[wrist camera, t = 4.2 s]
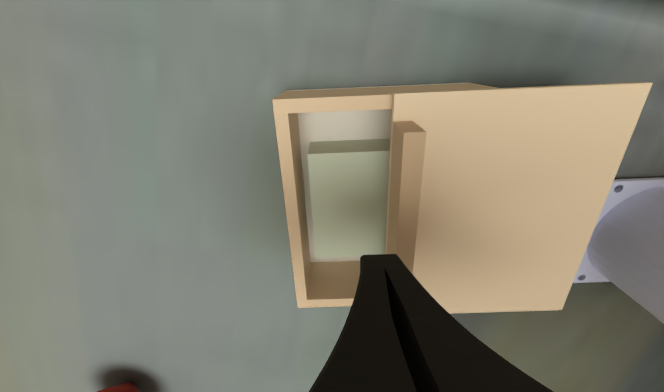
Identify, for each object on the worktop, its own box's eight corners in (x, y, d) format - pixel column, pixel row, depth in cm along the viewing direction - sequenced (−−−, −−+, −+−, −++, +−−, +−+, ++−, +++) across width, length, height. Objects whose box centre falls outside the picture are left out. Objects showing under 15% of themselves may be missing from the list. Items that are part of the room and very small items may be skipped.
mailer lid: (643, 82, 12) (712, 87, 10) (556, 304, 17) (589, 340, 15) (392, 92, 12) (406, 100, 10) (382, 310, 17) (390, 346, 15)
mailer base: (468, 82, 16) (508, 89, 12) (441, 260, 21) (464, 302, 17) (285, 90, 16) (272, 99, 12) (303, 265, 21) (297, 307, 18)
